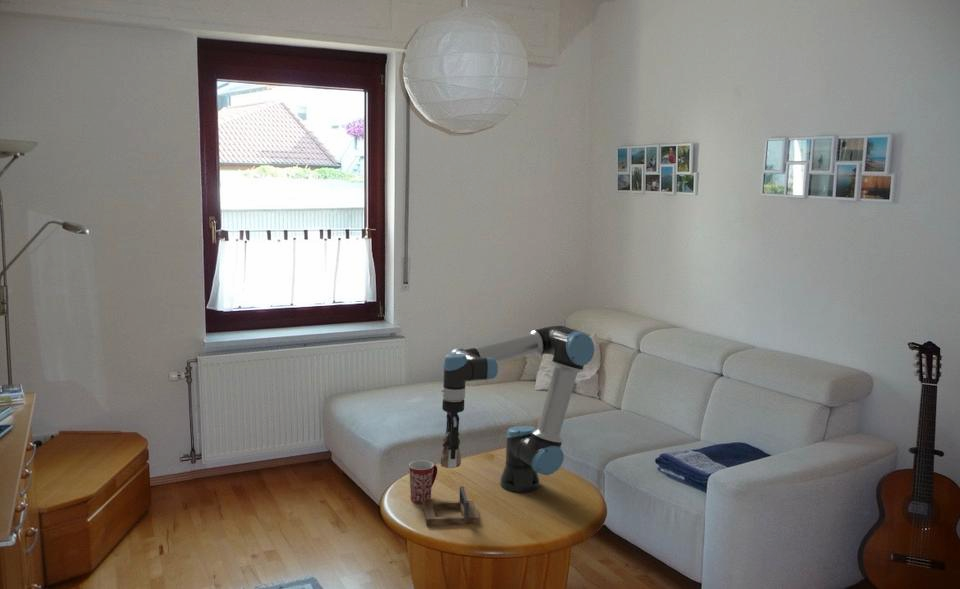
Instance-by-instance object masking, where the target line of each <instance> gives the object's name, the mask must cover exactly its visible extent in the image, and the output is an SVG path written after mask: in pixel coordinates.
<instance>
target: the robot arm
mask: <svg viewBox="0 0 960 589" xmlns="http://www.w3.org/2000/svg"><path fill="white" fill-rule="evenodd" d="M594 354H595V344H594V342H593V339H592V338H591V336H589V335H588V334H587V333H585V332H584V331H580V330H576V329H574V328H569V327H567V326H564V325H551V326H547V327H546V326H545V327H541V328H537V329H533V330H531V331H530V332H529V333H528V334H525V335H519V336H516V337H511V338H508V339H505V340H499V341H496V342H492V343H488V344H484V345H481V346H480V345H479V346H474V347H471V348H468V349H464V348H461V347H460V348H459V347H458V348H457V347H456V348H454V349H452V350H451V352H449V354H447V355H445V357H444V363H443V385H442V386H443V389H441V393H442V398H443V399H442V404H441V405H442V411H444V412H446V426H445V428H446V429H445V430H446V432H445V435H446V434H447V433H448V432H450V447H449V448H447V449H448V450H449V457H448V468H447V469H456V468H457V467H456V461H457V450H458V438H459V436H458V432H459V427H460V426H459V424H460V416H459V413H463V411H464V410H465V402H466V401H465V398H466V383H467V382H475V381H488V380H492V379H495V378H496V377H497V376H498V372H499V365H498V363H502V362H506V361H509V360H510V361H511V360H513V359H514V360H515V359H519V358H521V357H526V356H530V355H535V356H541V355H552V356H553V357H552V361H551V362H552V364H553V365H554V369H553V372H552V376H551V380H550V383H549V386H548V390H547V393H546V398H545V400H544V403H543V408H542V411H541V415H540V418H539V421H538V426H537V427H536V426H535V427H534V426H531V425H516V426H511V427H510V428H509V429H507V432H506V437H505V439H506V442H505V443H506V447H505V448H506V449H505V450H506V451H505V465H504V468H503V470H502V473H501V476H500V482H499V484H500V486H501V487H502V488H503V489H504V490H507V491H509V492H514V493H529V492H530V491H531V492H534V491H536V490H538V489H539V488H540V478H539V474H540V475H543V476H550V475H552V474H554V473H555V472H558V470H559V469H560V468H561V467H562V465H563V462H564V460H565V454H564V451H563V449H562V448H561V447H562V443H563V439H562V437H561V432H562V428H563V424H564V421H565V418H566V414H567V410H568V407H569V403H570V400H571V396H572V395H573V394H572V393H573V390H574V386H575V382H576V379H577V377H578V376H577V375H578V374H579V373H580V372H582V371H583V369H584V366H586V365H588V364H589V363H590V362H591V361H592V359H593V357H594ZM538 473H539V474H538ZM538 487H539V488H538ZM537 488H538V489H537Z"/></svg>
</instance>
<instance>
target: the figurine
mask: <svg viewBox="0 0 960 589" xmlns="http://www.w3.org/2000/svg"><path fill="white" fill-rule="evenodd" d="M459 436H460V432H459V431H458V450H457V461H456V468H459V467H460V466H461V464H462V455H461V448H460V444H461V440H460V437H459ZM442 442H443V443H442V445H441V446H442V453H441V457H440V467H442V468H446V469H449V468H448V457H449V450H448V449H447V448H449V447H450V432H448V433H447V434H446V433H445V437H444V438H443V440H442Z"/></svg>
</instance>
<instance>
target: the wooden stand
mask: <svg viewBox="0 0 960 589" xmlns="http://www.w3.org/2000/svg"><path fill="white" fill-rule="evenodd" d="M422 505H423V506H422V508H423V512H424V513H423V514H424V520H425V524H426V525H425V526H426V527H439V526H443V527H444V526H466V525H467V526H469V525H472V526H474V525H480V516H479V513H478V510H477V507H476V504H475V501H474V500H468V497H467V494H466V491H465V486H459V500H456V501H455V500H454V501H453V500H452V501H451V500H450V501H449V500H447V501H429V502H424V503H422ZM451 510H452V511H453V510H457V511H458V510H460V514H461V515H458V516H455V515H454V516H435V511H451Z"/></svg>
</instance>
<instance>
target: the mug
mask: <svg viewBox="0 0 960 589" xmlns="http://www.w3.org/2000/svg"><path fill="white" fill-rule="evenodd" d="M408 467H409V485H410V486H409V487H410V490H409V491H410V500H411V502H412V503H415V504H422V505H423V503H424V502H431V497H432V487H434V483H435V481H436V478H437V475H438V466H437V465H436V464H434V463H433V462H432V461H429V460H422V459H420V460H415V461H412V462H409V464H408Z"/></svg>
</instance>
